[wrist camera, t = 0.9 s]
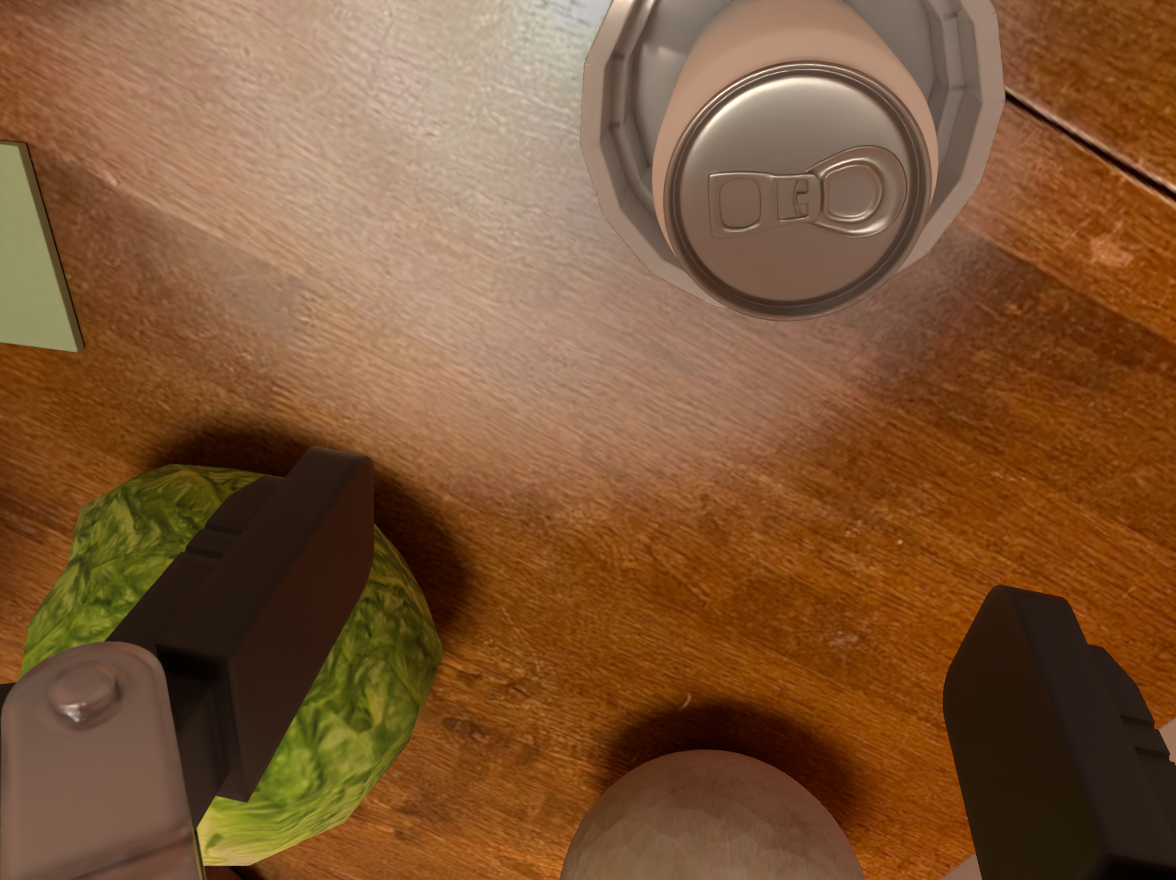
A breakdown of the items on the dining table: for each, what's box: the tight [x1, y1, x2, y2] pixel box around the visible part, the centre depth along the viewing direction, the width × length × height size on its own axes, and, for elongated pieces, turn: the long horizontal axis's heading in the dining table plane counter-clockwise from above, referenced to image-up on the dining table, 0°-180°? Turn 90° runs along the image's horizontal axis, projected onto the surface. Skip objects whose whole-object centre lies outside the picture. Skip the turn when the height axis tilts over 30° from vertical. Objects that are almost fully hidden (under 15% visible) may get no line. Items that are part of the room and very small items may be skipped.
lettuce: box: [19, 464, 444, 866], centre depth 41 cm, size 17×24×14 cm
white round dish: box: [580, 0, 1006, 309], centre depth 27 cm, size 12×12×5 cm
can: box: [652, 0, 938, 321], centre depth 24 cm, size 6×6×12 cm
